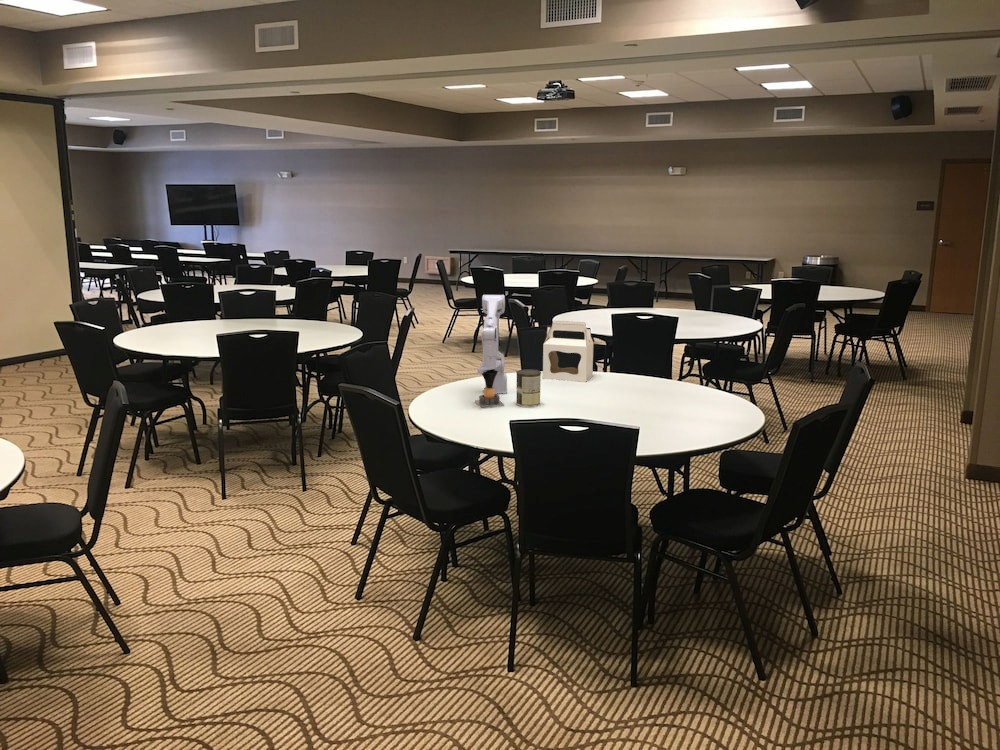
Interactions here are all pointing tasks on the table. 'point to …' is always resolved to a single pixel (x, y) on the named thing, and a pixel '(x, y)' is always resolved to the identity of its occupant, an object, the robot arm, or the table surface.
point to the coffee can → (528, 387)
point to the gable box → (568, 346)
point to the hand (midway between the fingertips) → (489, 387)
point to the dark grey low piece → (489, 401)
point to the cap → (489, 392)
